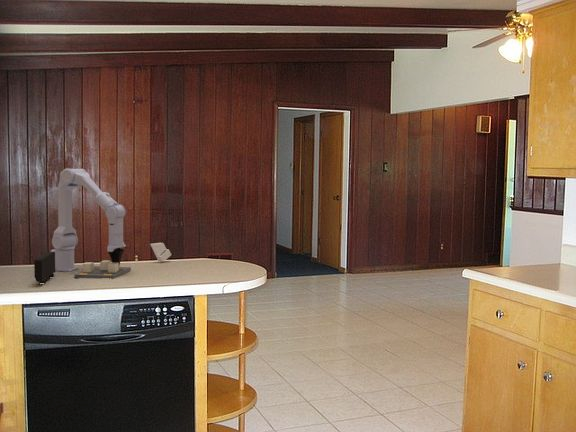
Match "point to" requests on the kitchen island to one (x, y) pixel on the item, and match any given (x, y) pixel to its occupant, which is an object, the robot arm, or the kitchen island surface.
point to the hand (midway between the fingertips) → (116, 266)
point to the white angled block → (161, 251)
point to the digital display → (44, 267)
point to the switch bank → (102, 273)
